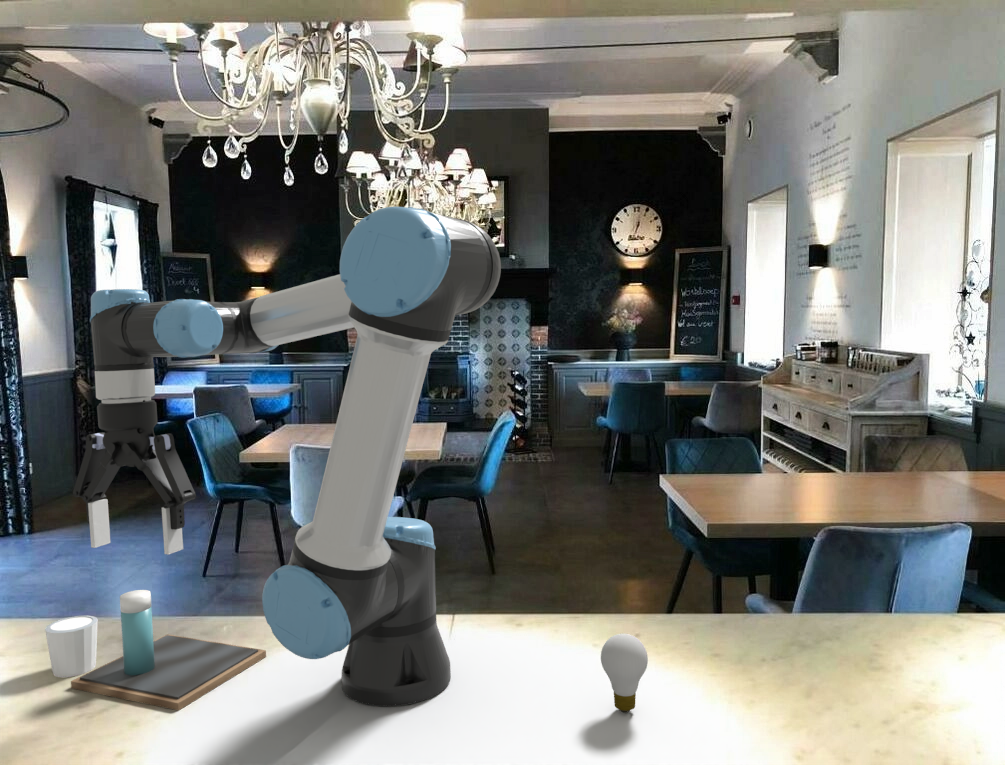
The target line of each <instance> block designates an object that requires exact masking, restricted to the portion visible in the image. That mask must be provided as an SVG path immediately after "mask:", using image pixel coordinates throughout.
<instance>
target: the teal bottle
mask: <svg viewBox="0 0 1005 765" xmlns="http://www.w3.org/2000/svg"><path fill="white" fill-rule="evenodd" d="M119 604H120V605H119V607H120V623H121V624H120V625H121V638H122V639H121V640H122V654H123V655H122V656H123V659H124V673H125V674H127V675H140V674H144V673H147V672H149V671H151V670H153V669H154V667H155V661H154V643H153V641H154V628H153V610H152V595H151V591H150V590H147V589H137V590H130V591H127V592H124V593H123V594H121V595H119Z"/></svg>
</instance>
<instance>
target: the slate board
mask: <svg viewBox="0 0 1005 765" xmlns="http://www.w3.org/2000/svg"><path fill="white" fill-rule="evenodd" d="M153 643H154V661H155V667H154V669H153V670H151V671H149V672H147V673H144V674H140V675H127V674H125V673H124V659H123V655H121V656H120V657H118V658H116V659H114V660H111V661H110V662H107V663H105V664H103V665H101V666H99V667H97V668H95V669H92V670H91V671H88V672H86V673H84V674H82V675H80V676H79V677H77V678H74V679H72V680H71V681H70V687H71V688H70V689H74V690H79V691H84V692H89V693H92V694H93V693H94V694H98V695H103V696H108V697H112V698H116V699H122V700H127V701H132V702H135V703H136V702H137V703H140V704H146V705H149V706H154V707H155V706H156V707H160V708H166V709H169V710H175V711H180V710H182V709H183V708H185V707H186V706H187V707H188V706H189V705H190V704H191V703H193V702H195V701H196V700H198V699H200V698H201V697H203V696H204V695H206V694H208V693H210V692H211V691H213V690H214V689H216V688H218V687H219V686H221V685H223V684H224V683H226V682H227V681H229V680H231V679H232V678H235V677H236V676H237V675H239V674H240V673H243V671H245V670H247V669H248V668H250V667H252V666H254V665H255V664H256V663H259V662H260V661H261V660H264V658H266V657H267V651H266V650H265V649H259V648H254V647H247V646H241V645H236V644H235V645H234V644H229V643H223V642H218V641H217V642H216V641H210V640H205V639H204V640H203V639H199V638H192V637H186V636H179V635H174V634H165V635H163V636H160V637H159V638H157V639H154V640H153Z"/></svg>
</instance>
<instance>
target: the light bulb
mask: <svg viewBox="0 0 1005 765" xmlns="http://www.w3.org/2000/svg"><path fill="white" fill-rule="evenodd" d="M601 648H602V649H601V651H600V653H601V654H600V661H601V662H600V663H601V666H602V668H603V671H604V672H605V674H606V676H608V679H609V681H610V684H611V689H612V690H613V699H614V702H613V703H614V707H615V708H616V709H617V710H619V711H620V712H621V713H623V714H626V713H629V712H630V711H632V710H634V709H635V708H636V698H637V697H636V696H637V695H636V692H637V691H638V687H639V683H640V680H641V678H642V677H643V675H644V674H645V672H646V670H647V667H648V662H649V659H648V658H649V656H648V652H647V650H646V647H645V645H644V644H643V642H642V641H641V640H640V639H639V638H637V637H636V636H635V635H633V634H628V633H618V634H614V635H612V636H611V637H609V638H608V639H607V640H606V641H605V642H604V643H603V646H602V647H601Z"/></svg>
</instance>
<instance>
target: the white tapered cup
mask: <svg viewBox="0 0 1005 765" xmlns="http://www.w3.org/2000/svg"><path fill="white" fill-rule="evenodd" d="M98 626H99V625H98V617H96V616H93V615H75V616H69V617H64V618H61V619H59V620H55V621H53V622H50V624H48V625H46V627H45V629H44V632H45V637H46V642H47V647H48V652H49V654H48V655H49V659H50V664H51V671H52V674H53V676H55V677H57V678H70V677H71V678H72V677H76V676H82V675H85V674H87V673H89V672H91V671H93V670H94V668H96V665H97V646H98V642H97V641H98Z"/></svg>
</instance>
